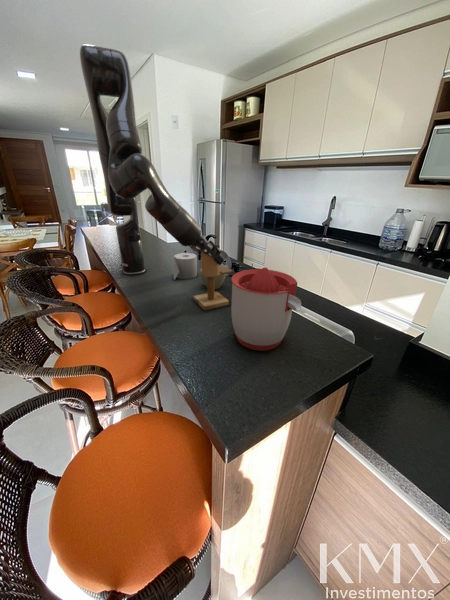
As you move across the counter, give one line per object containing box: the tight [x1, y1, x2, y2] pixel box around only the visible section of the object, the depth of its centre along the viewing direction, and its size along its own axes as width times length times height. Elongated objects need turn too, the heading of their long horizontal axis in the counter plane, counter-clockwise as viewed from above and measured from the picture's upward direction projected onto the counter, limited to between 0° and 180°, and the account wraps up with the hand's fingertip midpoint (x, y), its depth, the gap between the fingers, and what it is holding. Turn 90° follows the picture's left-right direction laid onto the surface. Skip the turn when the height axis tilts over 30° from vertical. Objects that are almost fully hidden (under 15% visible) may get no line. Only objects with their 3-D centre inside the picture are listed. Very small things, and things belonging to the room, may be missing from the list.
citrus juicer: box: [230, 267, 302, 352], centre depth 62 cm, size 16×17×20 cm
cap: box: [200, 247, 234, 277], centre depth 80 cm, size 10×6×8 cm, turn 119°
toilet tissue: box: [173, 252, 198, 281], centre depth 105 cm, size 9×13×9 cm
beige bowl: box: [200, 265, 227, 290], centre depth 96 cm, size 10×10×7 cm
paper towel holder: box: [193, 277, 230, 311], centre depth 82 cm, size 9×9×16 cm
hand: (214, 259), depth 80 cm, fingers closed on cap, 6 cm apart
